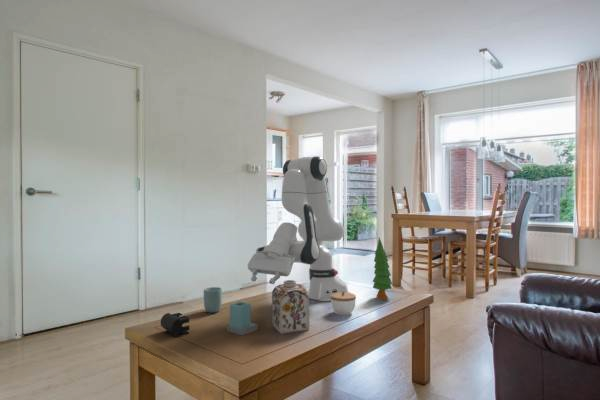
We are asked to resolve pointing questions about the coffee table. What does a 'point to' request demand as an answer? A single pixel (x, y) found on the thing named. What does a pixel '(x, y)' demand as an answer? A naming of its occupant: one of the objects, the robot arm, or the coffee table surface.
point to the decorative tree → (381, 272)
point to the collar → (240, 314)
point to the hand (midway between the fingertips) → (262, 281)
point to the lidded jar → (343, 303)
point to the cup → (212, 299)
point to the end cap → (175, 323)
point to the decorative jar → (290, 307)
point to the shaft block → (242, 329)
